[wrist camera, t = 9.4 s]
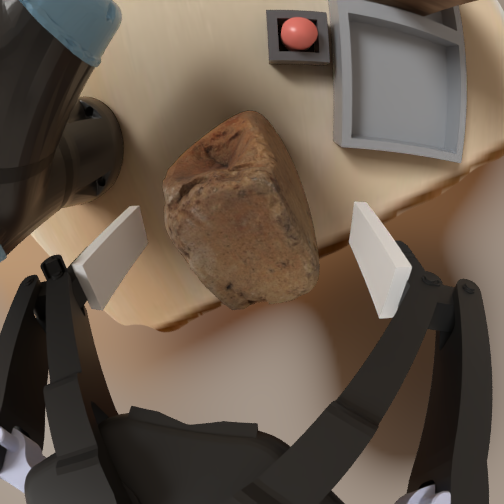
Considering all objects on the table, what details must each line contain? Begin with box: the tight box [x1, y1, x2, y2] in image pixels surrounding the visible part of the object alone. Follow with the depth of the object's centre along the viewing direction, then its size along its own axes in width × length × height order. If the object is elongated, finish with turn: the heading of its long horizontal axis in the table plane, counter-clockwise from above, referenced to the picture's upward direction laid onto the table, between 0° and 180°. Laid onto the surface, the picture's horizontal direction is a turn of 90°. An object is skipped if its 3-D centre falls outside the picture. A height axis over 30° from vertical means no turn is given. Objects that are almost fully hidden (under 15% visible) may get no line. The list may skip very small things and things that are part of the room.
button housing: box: [266, 10, 330, 66], centre depth 21 cm, size 6×6×3 cm
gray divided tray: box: [328, 0, 467, 163], centre depth 17 cm, size 16×32×4 cm, turn 3°
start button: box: [280, 17, 318, 52], centre depth 20 cm, size 3×3×4 cm
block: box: [163, 111, 319, 310], centre depth 22 cm, size 11×8×20 cm
